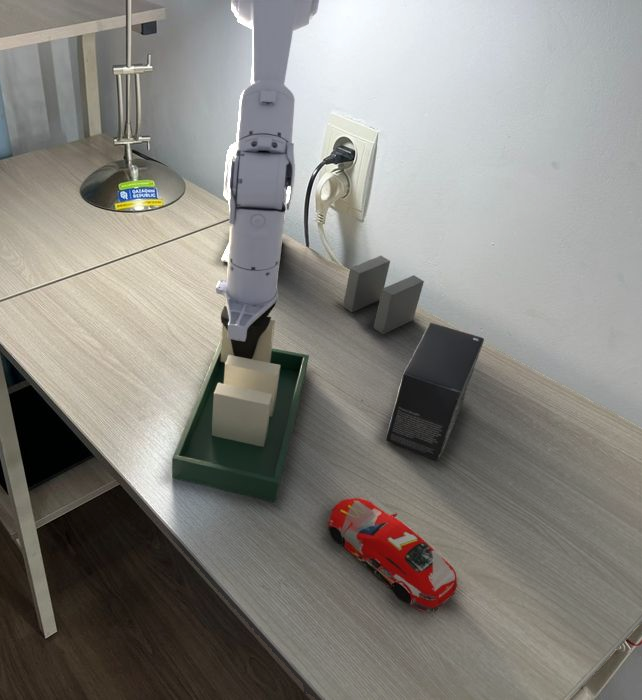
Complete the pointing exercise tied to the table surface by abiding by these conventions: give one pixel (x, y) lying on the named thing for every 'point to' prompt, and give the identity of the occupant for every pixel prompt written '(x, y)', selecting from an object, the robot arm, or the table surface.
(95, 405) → the table surface
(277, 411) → the shallow dark green tray
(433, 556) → the race car
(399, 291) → the grey twin slabs
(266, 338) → the cream square block
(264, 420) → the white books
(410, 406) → the small box
